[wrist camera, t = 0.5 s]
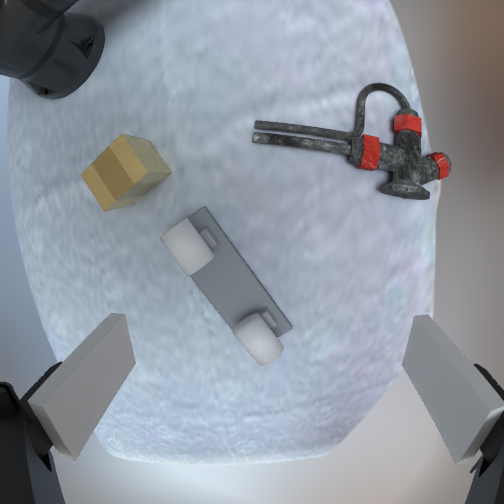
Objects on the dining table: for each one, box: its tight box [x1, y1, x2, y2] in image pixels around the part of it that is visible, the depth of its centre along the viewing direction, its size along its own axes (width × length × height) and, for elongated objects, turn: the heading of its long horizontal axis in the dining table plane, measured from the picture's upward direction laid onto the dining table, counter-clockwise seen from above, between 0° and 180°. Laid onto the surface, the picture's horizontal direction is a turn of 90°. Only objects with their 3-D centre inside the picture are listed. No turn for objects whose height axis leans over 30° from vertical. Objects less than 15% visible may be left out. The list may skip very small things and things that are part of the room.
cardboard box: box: [81, 134, 172, 212], centre depth 34 cm, size 7×6×8 cm
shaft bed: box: [160, 207, 292, 366], centre depth 37 cm, size 20×7×6 cm, turn 35°
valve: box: [253, 83, 451, 200], centre depth 33 cm, size 6×26×15 cm
